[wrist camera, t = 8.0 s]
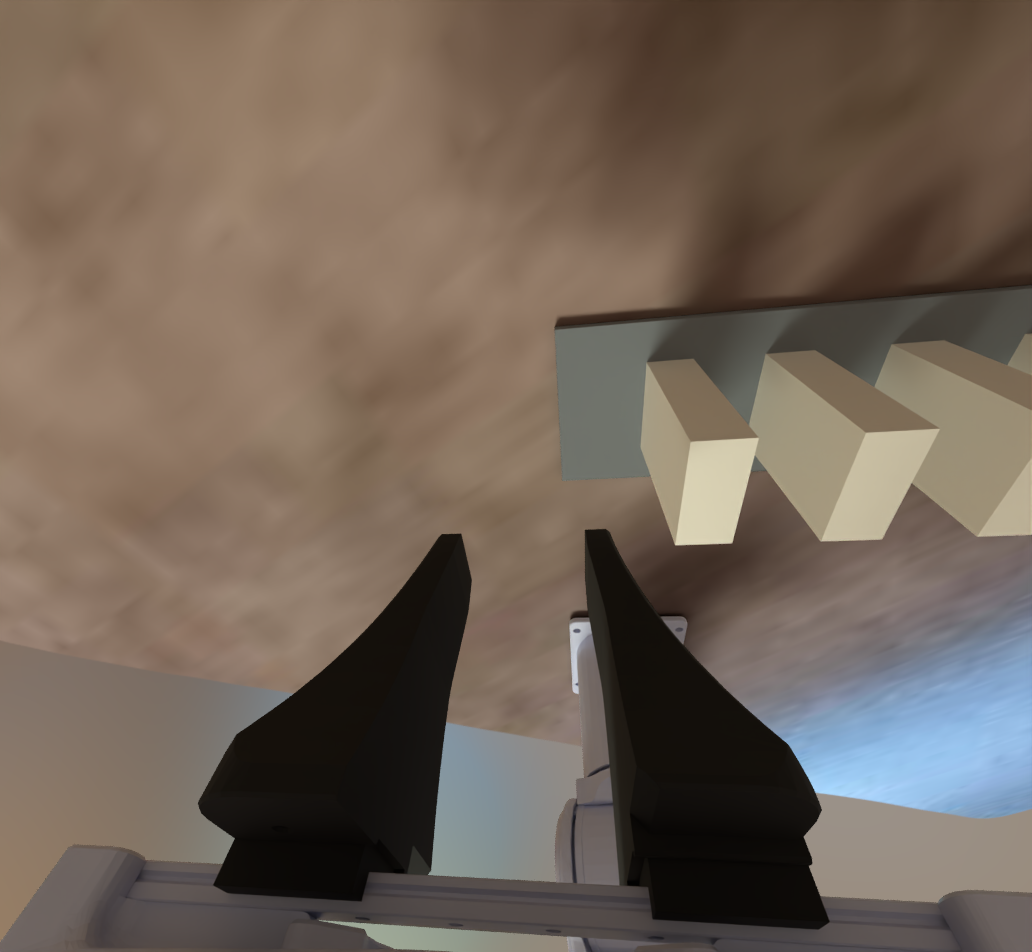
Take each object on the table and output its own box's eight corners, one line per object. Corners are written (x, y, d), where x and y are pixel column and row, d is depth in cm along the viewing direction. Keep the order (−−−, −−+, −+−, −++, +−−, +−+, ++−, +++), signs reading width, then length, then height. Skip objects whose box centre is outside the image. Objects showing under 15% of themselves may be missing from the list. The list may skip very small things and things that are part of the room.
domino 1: (681, 444, 21) (732, 543, 15) (640, 447, 21) (675, 545, 16) (693, 358, 19) (758, 437, 13) (646, 362, 19) (690, 441, 13)
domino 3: (900, 433, 20) (1042, 534, 14) (854, 435, 20) (976, 536, 14) (944, 340, 18) (1137, 417, 12) (891, 344, 18) (1056, 422, 12)
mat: (1202, 443, 20) (1214, 448, 20) (562, 476, 23) (562, 480, 23) (1381, 254, 15) (1402, 255, 15) (554, 327, 19) (554, 329, 18)
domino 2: (788, 439, 21) (881, 539, 15) (745, 441, 21) (820, 541, 15) (815, 350, 18) (940, 428, 12) (765, 353, 18) (866, 432, 13)
